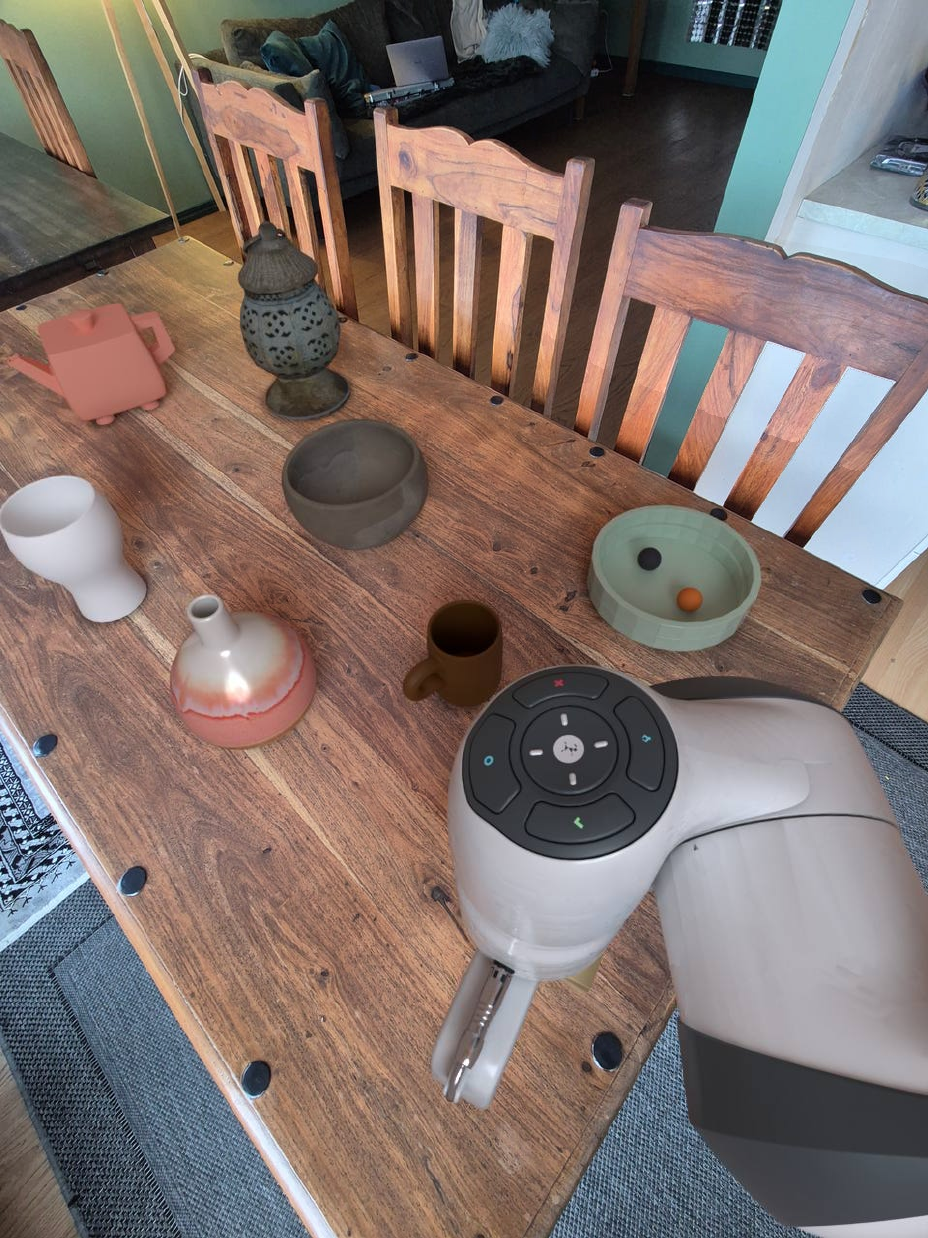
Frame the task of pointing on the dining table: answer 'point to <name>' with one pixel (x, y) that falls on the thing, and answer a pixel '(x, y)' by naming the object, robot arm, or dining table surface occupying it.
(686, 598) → the bead
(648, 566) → the bead
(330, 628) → the dining table surface
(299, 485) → the bowl
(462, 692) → the mug
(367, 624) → the dining table surface
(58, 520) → the cup
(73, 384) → the teapot
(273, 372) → the lantern
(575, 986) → the stick
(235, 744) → the vase
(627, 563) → the bowl
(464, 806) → the robot arm
